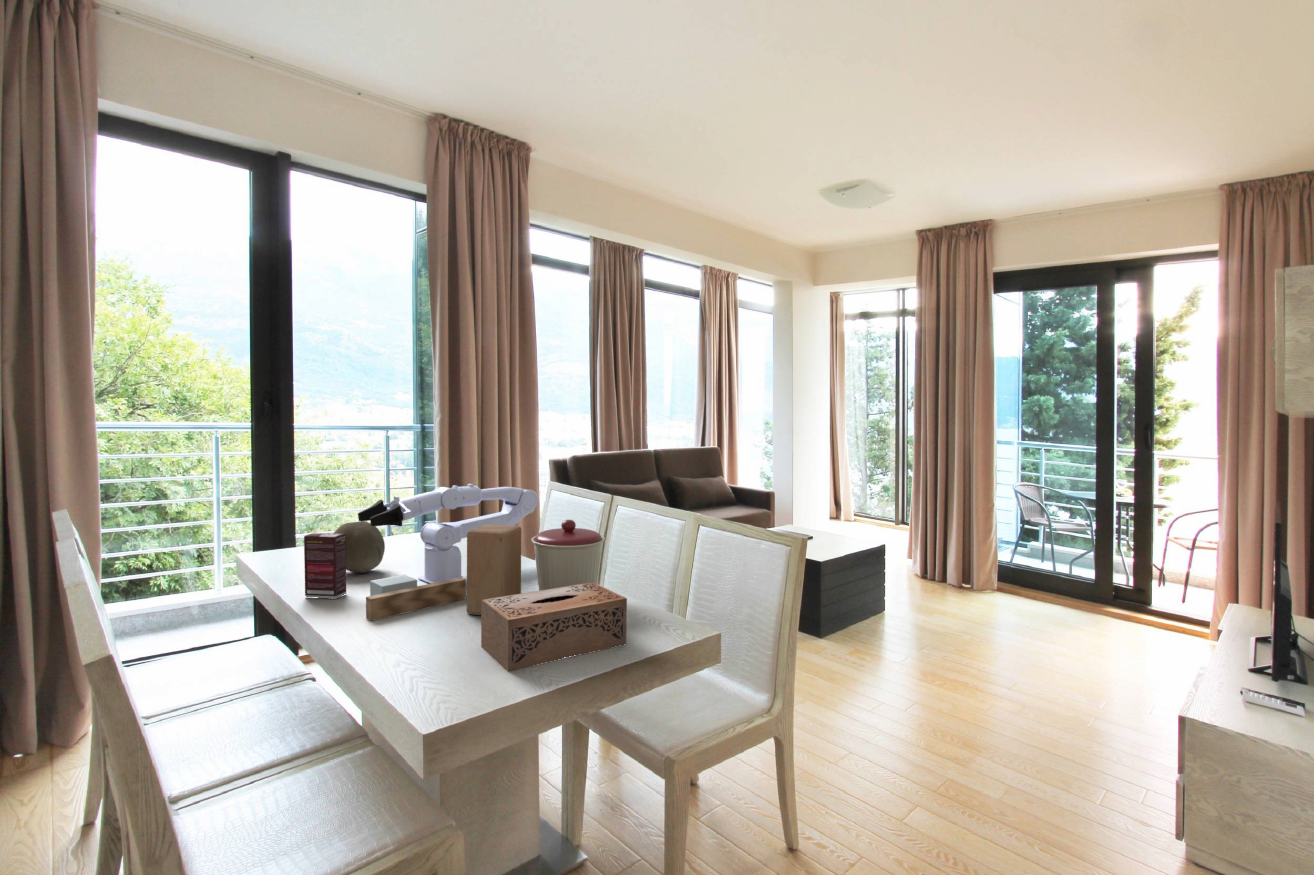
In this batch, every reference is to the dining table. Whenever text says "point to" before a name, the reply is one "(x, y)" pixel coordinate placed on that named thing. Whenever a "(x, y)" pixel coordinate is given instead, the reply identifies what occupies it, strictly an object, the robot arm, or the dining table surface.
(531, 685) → the dining table surface
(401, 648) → the dining table surface
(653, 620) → the dining table surface
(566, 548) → the canister
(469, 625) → the dining table surface
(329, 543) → the supplement box
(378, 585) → the block
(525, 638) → the tissue box cover
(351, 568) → the cantaloupe
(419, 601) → the board
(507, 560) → the wooden block
